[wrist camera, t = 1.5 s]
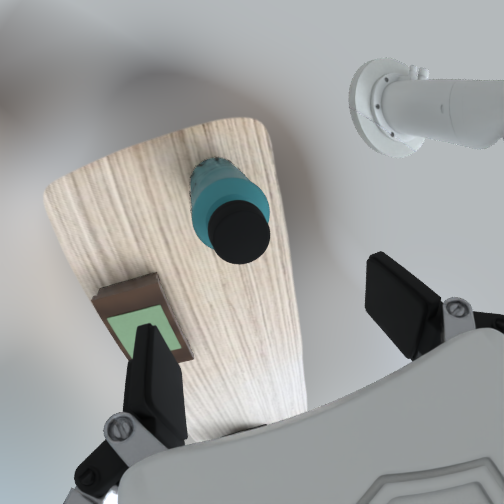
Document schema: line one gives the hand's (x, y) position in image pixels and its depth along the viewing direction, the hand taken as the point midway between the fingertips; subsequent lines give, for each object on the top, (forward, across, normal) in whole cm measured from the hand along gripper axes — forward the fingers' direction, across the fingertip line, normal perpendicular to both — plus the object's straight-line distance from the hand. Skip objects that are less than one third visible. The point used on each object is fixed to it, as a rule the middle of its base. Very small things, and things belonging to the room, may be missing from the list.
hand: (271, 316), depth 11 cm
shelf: (+28, +16, +18) cm, 37 cm away
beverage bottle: (+28, 0, 0) cm, 28 cm away
